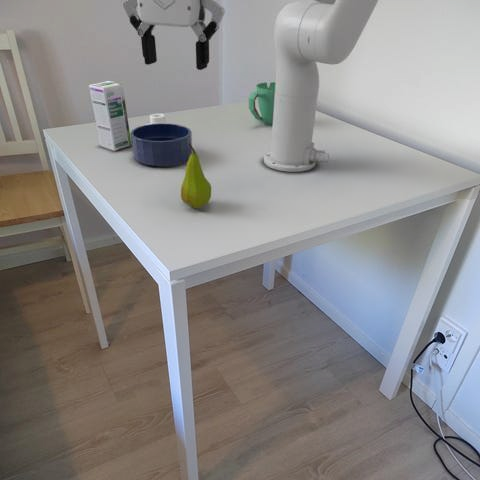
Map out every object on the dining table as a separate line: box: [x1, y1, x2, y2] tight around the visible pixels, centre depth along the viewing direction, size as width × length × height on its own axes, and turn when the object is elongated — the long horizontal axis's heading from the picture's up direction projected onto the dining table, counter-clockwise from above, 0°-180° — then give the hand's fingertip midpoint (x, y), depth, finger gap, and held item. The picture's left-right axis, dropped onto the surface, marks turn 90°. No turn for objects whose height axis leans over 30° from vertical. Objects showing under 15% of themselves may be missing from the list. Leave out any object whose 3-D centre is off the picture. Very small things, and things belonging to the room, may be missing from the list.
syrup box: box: [88, 80, 132, 152], centre depth 106 cm, size 6×6×14 cm
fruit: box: [180, 144, 212, 209], centre depth 81 cm, size 6×6×12 cm
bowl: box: [130, 122, 193, 167], centre depth 103 cm, size 14×14×6 cm
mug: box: [248, 81, 276, 126], centre depth 125 cm, size 15×10×10 cm
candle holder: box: [145, 113, 171, 125], centre depth 119 cm, size 12×12×4 cm
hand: (176, 65), depth 73 cm, fingers open, 9 cm apart
